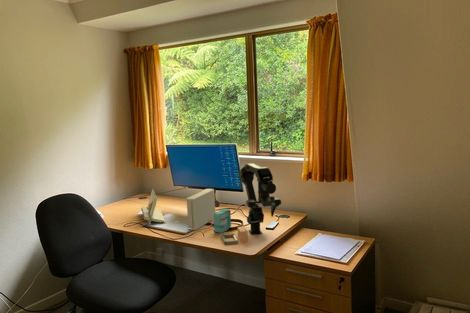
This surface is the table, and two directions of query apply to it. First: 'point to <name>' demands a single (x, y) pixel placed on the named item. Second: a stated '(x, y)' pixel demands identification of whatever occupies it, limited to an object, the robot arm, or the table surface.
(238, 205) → the table surface
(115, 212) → the table surface
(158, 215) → the architectural model
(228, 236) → the grey rectangular frame
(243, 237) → the tall beige box
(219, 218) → the data package
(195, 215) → the game console
